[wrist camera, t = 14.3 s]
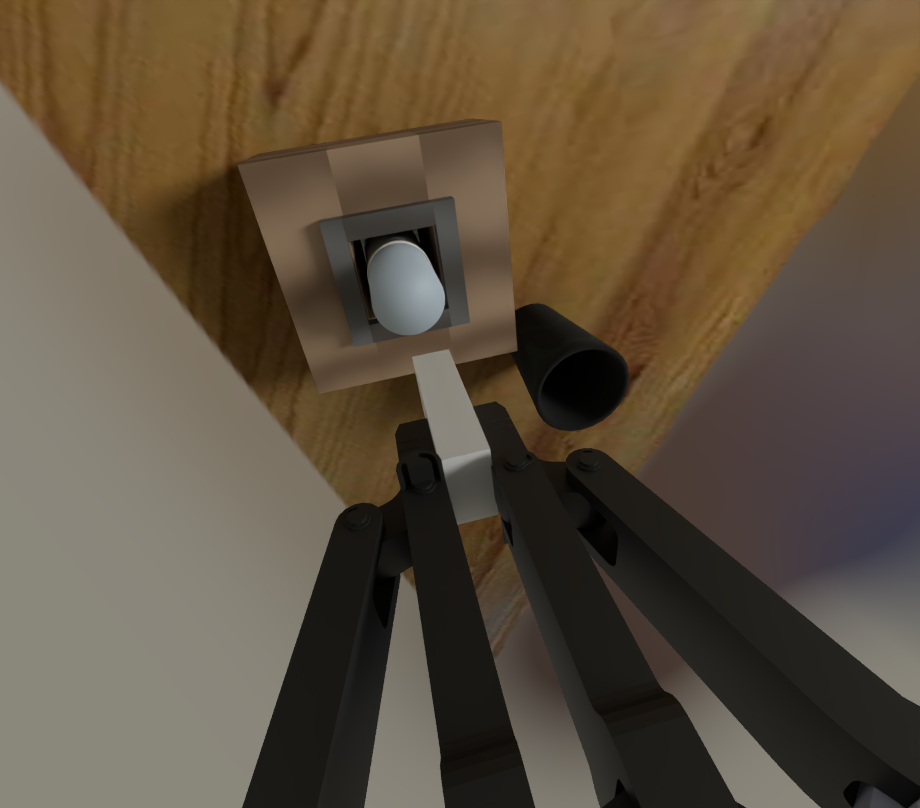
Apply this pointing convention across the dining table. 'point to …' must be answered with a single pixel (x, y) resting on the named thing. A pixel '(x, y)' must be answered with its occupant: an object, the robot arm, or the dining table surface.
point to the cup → (567, 369)
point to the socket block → (379, 213)
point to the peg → (402, 283)
